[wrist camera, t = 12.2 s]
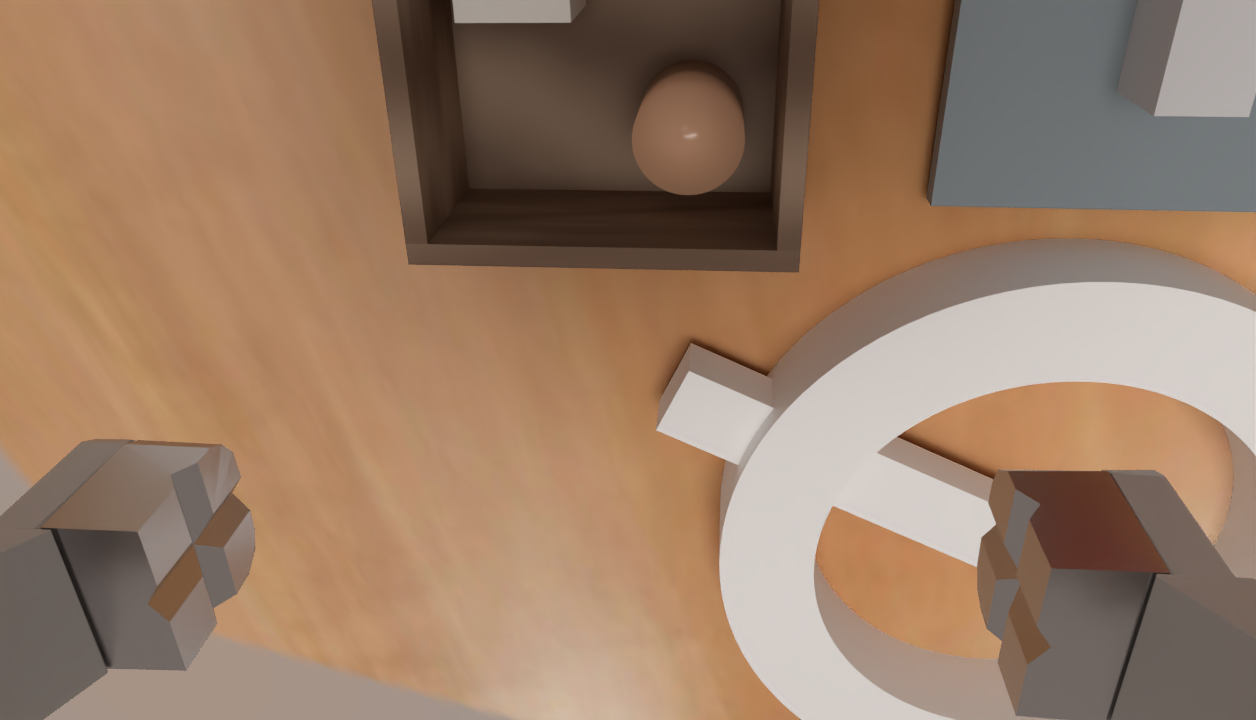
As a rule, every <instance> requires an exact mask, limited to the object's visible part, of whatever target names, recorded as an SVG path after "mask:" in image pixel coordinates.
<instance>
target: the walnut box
mask: <svg viewBox="0 0 1256 720" xmlns="http://www.w3.org/2000/svg"><path fill="white" fill-rule="evenodd" d="M372 5H373V12H374V19H375V26H376V33H377V40H378V48H379V55H380V62H381V69H382V76H383V84H384V91H385V98H386V105H387V112H388V119H389V127H390V134H391V141H392V148H393V155H394V162H395V170H396V177H397V184H398V191H399V198H400V206H401V213H402V220H403V227H404V234H405V241H406V249H407V256H408V263H409V264H415V265H464V266H513V267H561V268H610V269H659V270H707V271H756V272H799V262H800V249H801V236H802V222H803V209H804V195H805V182H806V169H807V155H808V142H809V129H810V115H811V102H812V89H813V75H814V62H815V49H816V35H817V22H818V9H819V0H586V6H585V7H584V8H583V9H582V10H581V12H580V13H579V14H578V15H577V16H576V17H575V19H574V20H573V21H572V22H571V23H455V22H454V12H453V2H452V0H372ZM685 60H700V61H705V62H708V63H711V64H714V65H716V66H718V67H719V68H721V69H722V70H724V71H725V72H726V73H727V74H728V75H729V76H730V77H731V78H732V79H733V81H734V82H735V84H736V85H737V87H738V89H739V91H740V94H741V97H742V101H743V110H744V129H745V146H744V151H743V156H742V158H741V161H740V163H739V165H738V167H737V169H736V170H735V171H734V173H733V174H732V175H731V176H730V177H729V178H728V180H726V181H725V182H724V183H723V184H722V185H720V186H718V187H717V188H715V189H713V190H711V191H709V192H705V193H702V194H697V195H679V194H674V193H671V192H668V191H665V190H663V189H661V188H659V187H658V186H656V185H655V184H653V183H652V182H651V181H650V180H649V179H648V178H647V177H646V176H645V175H644V174H643V172H642V171H641V169H640V168H639V166H638V164H637V162H636V159H635V157H634V153H633V148H632V131H633V126H634V123H635V120H636V117H637V114H638V111H639V108H640V105H641V102H642V99H643V96H644V93H645V91H646V88H647V86H648V85H649V83H650V82H651V80H652V79H653V78H654V77H655V76H656V75H657V74H658V73H659V72H660V71H661V70H663V69H664V68H666V67H668V66H670V65H672V64H674V63H677V62H680V61H685Z"/></svg>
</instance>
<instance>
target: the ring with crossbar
mask: <svg viewBox="0 0 1256 720" xmlns="http://www.w3.org/2000/svg"><path fill="white" fill-rule="evenodd" d="M1071 381H1077V382H1101V383H1112V384H1119V385H1126V386H1131V387H1136V388H1141V389H1145V390H1149V391H1153V392H1157V393H1160V394H1163V395H1166V396H1169V397H1172V398H1175V399H1177V400H1180V401H1182V402H1184V403H1187V404H1189V405H1191V406H1193V407H1195V408H1197V409H1199V410H1201V411H1203V412H1205V413H1206V414H1208V415H1210V416H1211V417H1213V418H1215V419H1216V420H1218V421H1219V422H1220V423H1222V424H1223V427H1224V429H1225V432H1226V434H1227V437H1228V441H1229V444H1230V448H1231V453H1232V459H1233V491H1232V497H1231V503H1230V507H1229V510H1228V514H1227V517H1226V520H1225V523H1224V525H1223V528H1222V530H1221V532H1220V534H1219V536H1218V539H1217V540H1216V542H1215V544H1214V547H1215V548H1216V550H1217V551H1218V553H1219V554H1220V556H1221V557H1222V558H1223V560H1224V561H1225V563H1226V564H1227V566H1228V567H1229V568H1230V570H1231V571H1232V573H1233V574H1234V576H1235V577H1239V578H1253V579H1255V580H1256V295H1255V294H1254V293H1253V292H1251V291H1250V290H1248V289H1246V288H1245V287H1243V286H1242V285H1240V284H1239V283H1237V282H1236V281H1234V280H1232V279H1230V278H1228V277H1227V276H1225V275H1223V274H1221V273H1219V272H1217V271H1215V270H1213V269H1211V268H1209V267H1206V266H1204V265H1202V264H1200V263H1197V262H1195V261H1192V260H1190V259H1187V258H1184V257H1181V256H1178V255H1175V254H1172V253H1169V252H1165V251H1161V250H1158V249H1154V248H1150V247H1145V246H1140V245H1135V244H1130V243H1124V242H1116V241H1109V240H1099V239H1083V238H1049V239H1033V240H1023V241H1015V242H1007V243H1001V244H995V245H990V246H985V247H979V248H975V249H971V250H967V251H963V252H959V253H955V254H952V255H949V256H946V257H943V258H939V259H936V260H933V261H930V262H928V263H925V264H922V265H920V266H917V267H914V268H912V269H909V270H907V271H905V272H903V273H900V274H898V275H896V276H894V277H892V278H889V279H887V280H885V281H883V282H881V283H880V284H878V285H876V286H874V287H872V288H870V289H868V290H866V291H865V292H863V293H861V294H860V295H858V296H857V297H855V298H853V299H852V300H850V301H848V302H847V303H845V304H844V305H842V306H841V307H840V308H838V309H837V310H835V311H834V312H832V313H831V314H830V315H828V316H827V317H826V318H824V319H823V320H822V321H821V322H819V323H818V324H817V325H816V326H814V327H813V328H812V329H811V330H810V331H809V332H807V333H806V334H805V335H804V336H803V337H802V338H801V339H800V340H799V341H798V342H796V343H795V344H794V346H793V347H792V348H791V349H790V350H789V351H788V352H787V353H786V354H785V355H784V356H783V357H782V358H781V359H780V360H779V362H778V363H777V364H776V365H775V367H774V368H773V369H772V370H771V371H770V373H769V374H768V375H767V376H765V375H762V374H760V373H758V372H756V371H753V370H751V369H749V368H747V367H744V366H742V365H740V364H737V363H735V362H733V361H731V360H728V359H726V358H724V357H722V356H719V355H717V354H715V353H713V352H710V351H708V350H706V349H704V348H701V347H699V346H697V345H694V344H692V343H691V344H690V346H689V348H688V350H687V351H686V353H685V355H684V357H683V359H682V360H681V362H680V364H679V366H678V368H677V370H676V371H675V373H674V375H673V377H672V379H671V380H670V382H669V384H668V386H667V388H666V390H665V391H664V393H663V395H662V397H661V399H660V401H659V409H658V418H657V426H656V430H657V431H659V432H662V433H664V434H666V435H669V436H671V437H673V438H676V439H678V440H680V441H683V442H685V443H687V444H690V445H692V446H694V447H697V448H699V449H701V450H704V451H706V452H708V453H711V454H713V455H715V456H718V457H720V458H723V459H725V460H726V462H725V466H724V470H723V477H722V484H721V496H720V550H719V567H720V584H721V592H722V598H723V602H724V607H725V611H726V614H727V618H728V621H729V624H730V627H731V629H732V632H733V634H734V637H735V639H736V641H737V643H738V645H739V647H740V649H741V651H742V653H743V655H744V656H745V658H746V660H747V661H748V663H749V664H750V666H751V668H752V669H753V670H754V672H755V673H756V674H757V676H758V677H759V678H760V680H761V681H762V682H763V683H764V684H765V686H766V687H767V688H768V689H769V690H770V691H771V693H772V694H773V695H774V696H775V697H776V698H777V699H778V700H779V701H780V702H781V703H782V704H784V705H785V706H786V707H787V708H788V709H789V710H790V711H792V712H793V713H794V714H795V715H796V716H798V717H799V718H800V719H802V720H1060V719H1048V718H1035V717H1023V716H1016V715H1015V712H1014V709H1013V706H1012V703H1011V700H1010V697H1009V694H1008V691H1007V688H1006V686H1005V683H1004V680H1003V677H1002V674H1001V671H1000V668H999V665H998V659H987V658H971V657H961V656H954V655H948V654H943V653H938V652H934V651H930V650H926V649H923V648H920V647H917V646H914V645H911V644H908V643H906V642H903V641H901V640H899V639H896V638H894V637H892V636H890V635H888V634H886V633H884V632H882V631H880V630H879V629H877V628H876V627H874V626H872V625H871V624H869V623H868V622H866V621H865V620H864V619H862V618H861V617H860V616H858V615H857V614H856V613H855V612H853V611H852V610H851V609H850V608H849V607H848V606H847V605H846V604H845V603H844V602H843V601H842V600H841V599H840V598H839V597H838V596H837V594H836V593H835V592H834V590H833V589H832V588H831V587H830V585H829V584H828V582H827V581H826V579H825V577H824V576H823V574H822V572H821V570H820V568H819V566H818V564H817V562H816V559H815V554H816V549H817V544H818V540H819V537H820V534H821V531H822V528H823V525H824V523H825V520H826V518H827V516H828V514H829V512H830V510H831V508H832V506H835V507H837V508H840V509H842V510H844V511H847V512H849V513H851V514H854V515H856V516H858V517H861V518H863V519H865V520H868V521H870V522H872V523H875V524H877V525H879V526H882V527H884V528H886V529H889V530H891V531H893V532H896V533H898V534H900V535H903V536H905V537H908V538H910V539H912V540H915V541H917V542H919V543H922V544H924V545H926V546H929V547H931V548H933V549H936V550H938V551H940V552H943V553H945V554H947V555H950V556H952V557H954V558H957V559H959V560H961V561H964V562H966V563H968V564H971V565H973V566H975V567H977V563H978V556H979V550H980V543H981V537H983V536H984V535H985V534H986V533H987V532H988V531H989V530H990V529H992V528H993V527H994V526H995V525H996V522H995V519H994V517H993V514H992V511H991V509H990V506H989V504H988V501H989V496H990V491H991V486H992V482H993V480H994V479H991V478H989V477H987V476H985V475H982V474H980V473H978V472H975V471H973V470H971V469H969V468H966V467H964V466H962V465H960V464H957V463H955V462H953V461H951V460H948V459H946V458H944V457H941V456H939V455H937V454H935V453H932V452H930V451H928V450H926V449H923V448H921V447H919V446H917V445H914V444H912V443H910V442H907V441H905V440H903V439H901V438H898V437H897V436H899V435H900V434H902V433H903V432H904V431H906V430H908V429H909V428H911V427H913V426H914V425H916V424H917V423H919V422H921V421H923V420H925V419H927V418H929V417H930V416H932V415H934V414H936V413H939V412H941V411H943V410H945V409H947V408H949V407H952V406H954V405H957V404H959V403H962V402H964V401H967V400H970V399H973V398H976V397H979V396H982V395H986V394H990V393H993V392H997V391H1001V390H1005V389H1010V388H1015V387H1020V386H1026V385H1033V384H1041V383H1051V382H1071Z"/></svg>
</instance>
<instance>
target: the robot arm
mask: <svg viewBox="0 0 1256 720" xmlns="http://www.w3.org/2000/svg"><path fill="white" fill-rule="evenodd" d="M240 478H241V476H240V473H239V470H238V466H237V463H236V460H235V457H234V454H233V452H232V451H230V450H229V449H227V448H226V447H224V446H223V445H222V444H203V443H184V442H165V441H145V440H138V441H134V440H124V439H93V440H88V441H84V442H81V443H80V444H79V445H78V446H77V447H75V448H74V449H73V450H72V451H71V452H70V453H69V454H68V455H67V456H66V457H64V458H63V459H62V460H61V461H60V462H59V463H58V464H57V465H56V466H55V467H54V468H52V469H51V470H50V471H49V472H48V473H47V474H46V475H45V476H44V477H43V478H42V479H40V480H39V481H38V482H37V483H36V484H35V485H34V486H33V487H32V488H31V489H30V490H28V491H27V492H26V493H25V494H24V495H23V496H22V497H21V498H20V499H19V500H18V501H16V502H15V503H14V504H13V505H12V506H11V507H10V508H9V509H8V510H7V511H5V512H4V513H3V514H2V515H1V516H0V720H43V719H45V718H46V717H47V716H49V715H50V714H52V713H53V712H54V711H56V710H57V709H58V708H60V707H61V706H62V705H64V704H65V703H67V702H68V701H69V700H71V699H72V698H74V697H75V696H76V695H78V694H79V693H80V692H82V691H83V690H85V689H86V688H87V687H89V686H90V685H92V684H93V683H94V682H96V681H97V680H98V679H100V678H101V677H102V676H104V675H105V674H107V672H108V670H107V669H146V670H185V671H186V670H187V669H188V667H189V666H190V664H191V663H192V661H193V660H194V658H195V657H196V655H197V654H198V652H199V651H200V649H201V648H202V646H203V644H204V643H205V641H206V640H207V638H208V637H209V635H210V634H211V632H212V631H213V629H214V628H215V626H216V625H217V621H216V617H215V613H214V609H213V608H214V607H216V606H218V605H219V604H221V603H223V602H224V601H226V600H227V599H229V598H231V597H232V596H234V595H236V594H237V593H238V591H239V589H240V588H241V586H242V585H243V583H244V581H245V580H246V578H247V576H248V575H249V571H250V568H251V564H252V560H253V556H254V552H255V528H254V524H253V520H252V516H251V512H250V510H249V509H248V508H247V507H246V506H245V505H244V504H243V503H242V502H241V501H240V500H239V499H238V498H237V497H236V496H235V495H234V494H233V493H232V492H233V491H234V489H235V487H236V485H237V483H238V482H239V480H240ZM988 504H989V506H990V509H991V511H992V514H993V517H994V519H995V522H996V525H995V526H994V527H993V528H992V529H990V530H989V531H988V532H987V533H986V534H985V535H984V536H983V537H981V543H980V550H979V556H978V563H977V590H978V596H979V602H980V608H981V612H982V615H983V618H984V622H985V625H986V628H987V629H988V630H989V631H990V632H992V633H993V634H994V635H995V636H996V637H998V638H999V639H1000V640H1001V641H1002V644H1001V649H1000V654H999V658H998V665H999V668H1000V671H1001V674H1002V677H1003V680H1004V683H1005V686H1006V688H1007V691H1008V694H1009V697H1010V700H1011V703H1012V706H1013V709H1014V712H1015V715H1016V716H1023V717H1035V718H1048V719H1060V720H1256V580H1255V579H1253V578H1239V577H1235V576H1234V574H1233V573H1232V571H1231V570H1230V568H1229V567H1228V566H1227V564H1226V563H1225V561H1224V560H1223V558H1222V557H1221V556H1220V554H1219V553H1218V551H1217V550H1216V548H1215V547H1214V546H1213V544H1212V543H1211V541H1210V540H1209V538H1208V537H1207V536H1206V534H1205V533H1204V531H1203V530H1202V528H1201V527H1200V526H1199V524H1198V523H1197V521H1196V520H1195V518H1194V517H1193V516H1192V514H1191V513H1190V511H1189V510H1188V508H1187V507H1186V506H1185V504H1184V503H1183V501H1182V500H1181V498H1180V497H1179V496H1178V494H1177V493H1176V491H1175V490H1174V488H1173V487H1172V486H1171V484H1170V483H1169V481H1168V480H1167V478H1166V477H1165V476H1164V475H1162V474H1160V473H1159V472H1157V471H1155V470H1102V471H1060V470H998V471H997V473H996V475H995V478H994V480H993V482H992V486H991V491H990V496H989V501H988Z"/></svg>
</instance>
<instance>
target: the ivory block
mask: <svg viewBox="0 0 1256 720" xmlns="http://www.w3.org/2000/svg"><path fill="white" fill-rule="evenodd" d="M452 2H453V12H454V22H455V23H571V22H572V21H573V20H574V19H575V17H576V16H577V15H578V14H579V13H580V12H581V10H582V9H583V8H584V7H585V6H586V0H452Z"/></svg>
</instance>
